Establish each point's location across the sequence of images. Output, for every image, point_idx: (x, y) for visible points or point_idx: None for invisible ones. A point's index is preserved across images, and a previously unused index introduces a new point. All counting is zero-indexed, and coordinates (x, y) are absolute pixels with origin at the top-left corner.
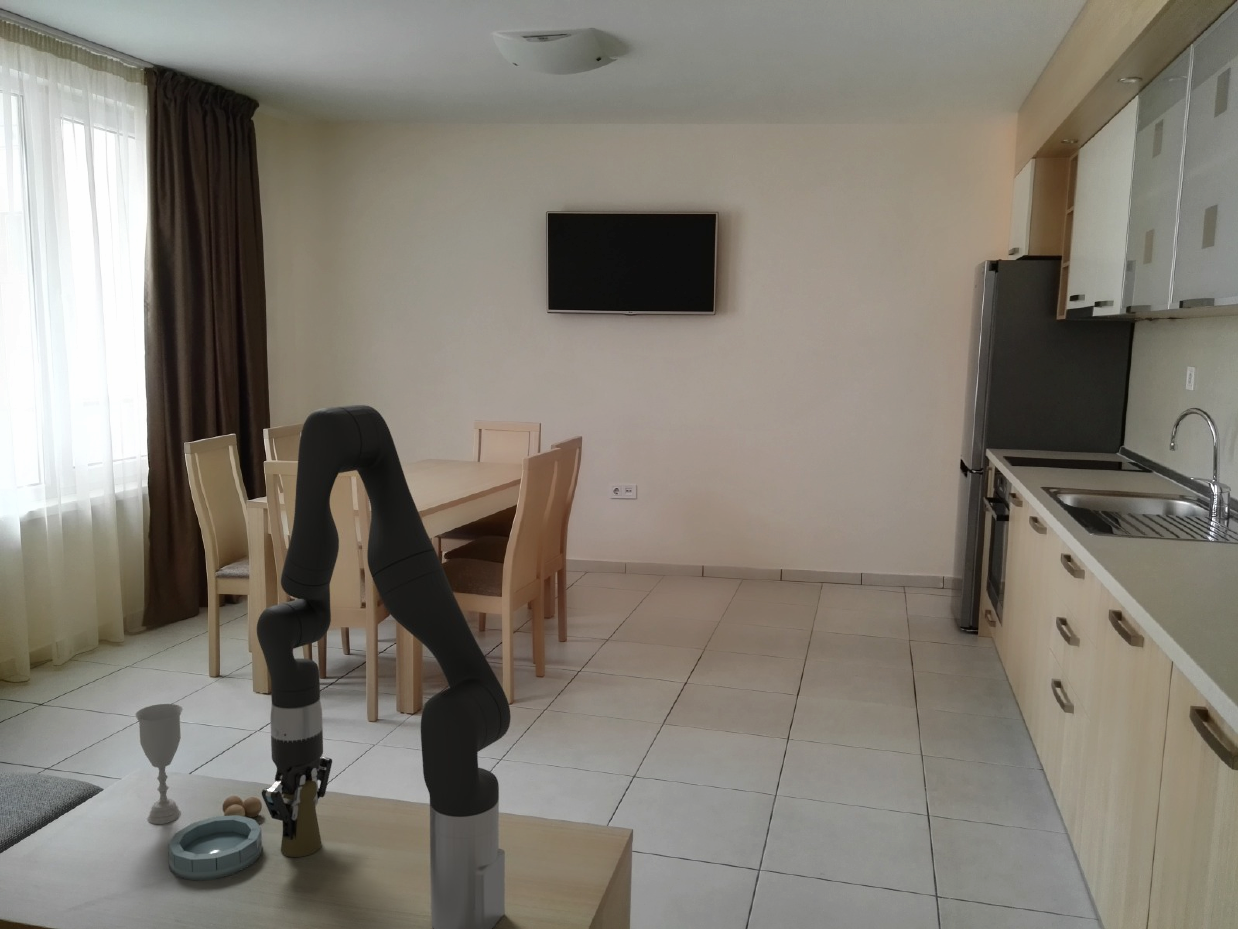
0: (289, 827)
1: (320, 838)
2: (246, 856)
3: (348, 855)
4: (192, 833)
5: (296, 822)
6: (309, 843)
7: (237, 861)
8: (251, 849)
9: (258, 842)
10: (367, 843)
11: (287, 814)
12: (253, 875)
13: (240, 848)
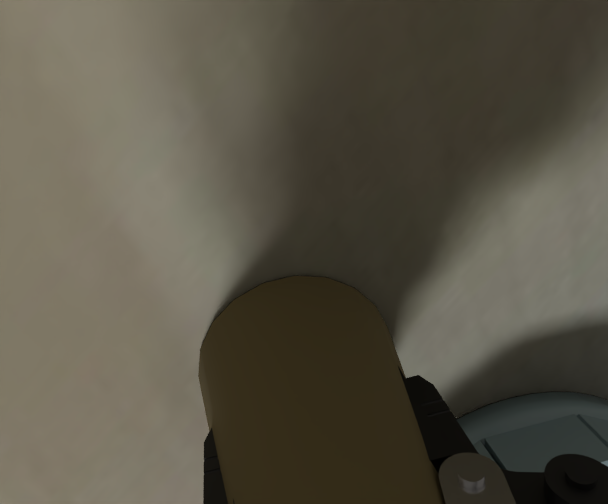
0: (462, 433)
1: (221, 333)
2: (549, 431)
3: (203, 99)
4: None
5: (425, 441)
6: (331, 311)
7: (594, 424)
8: (529, 452)
9: None
10: (29, 107)
11: (586, 500)
12: (559, 329)
13: None
